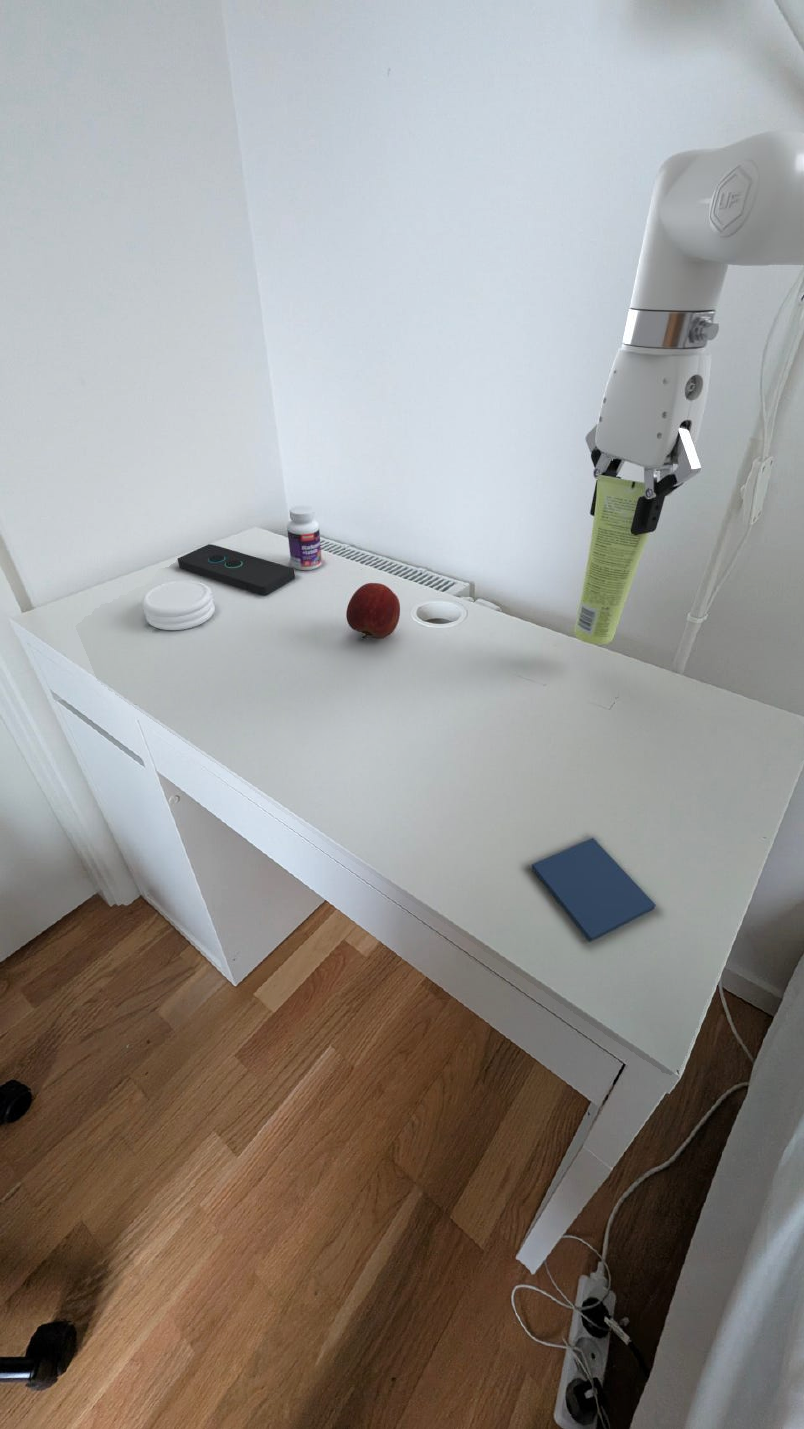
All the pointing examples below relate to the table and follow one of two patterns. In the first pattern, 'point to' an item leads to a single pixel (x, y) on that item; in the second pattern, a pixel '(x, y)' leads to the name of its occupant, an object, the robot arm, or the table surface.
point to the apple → (373, 610)
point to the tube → (610, 559)
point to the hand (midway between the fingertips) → (621, 521)
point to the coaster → (178, 605)
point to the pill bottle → (304, 539)
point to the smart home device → (237, 569)
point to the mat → (592, 888)
